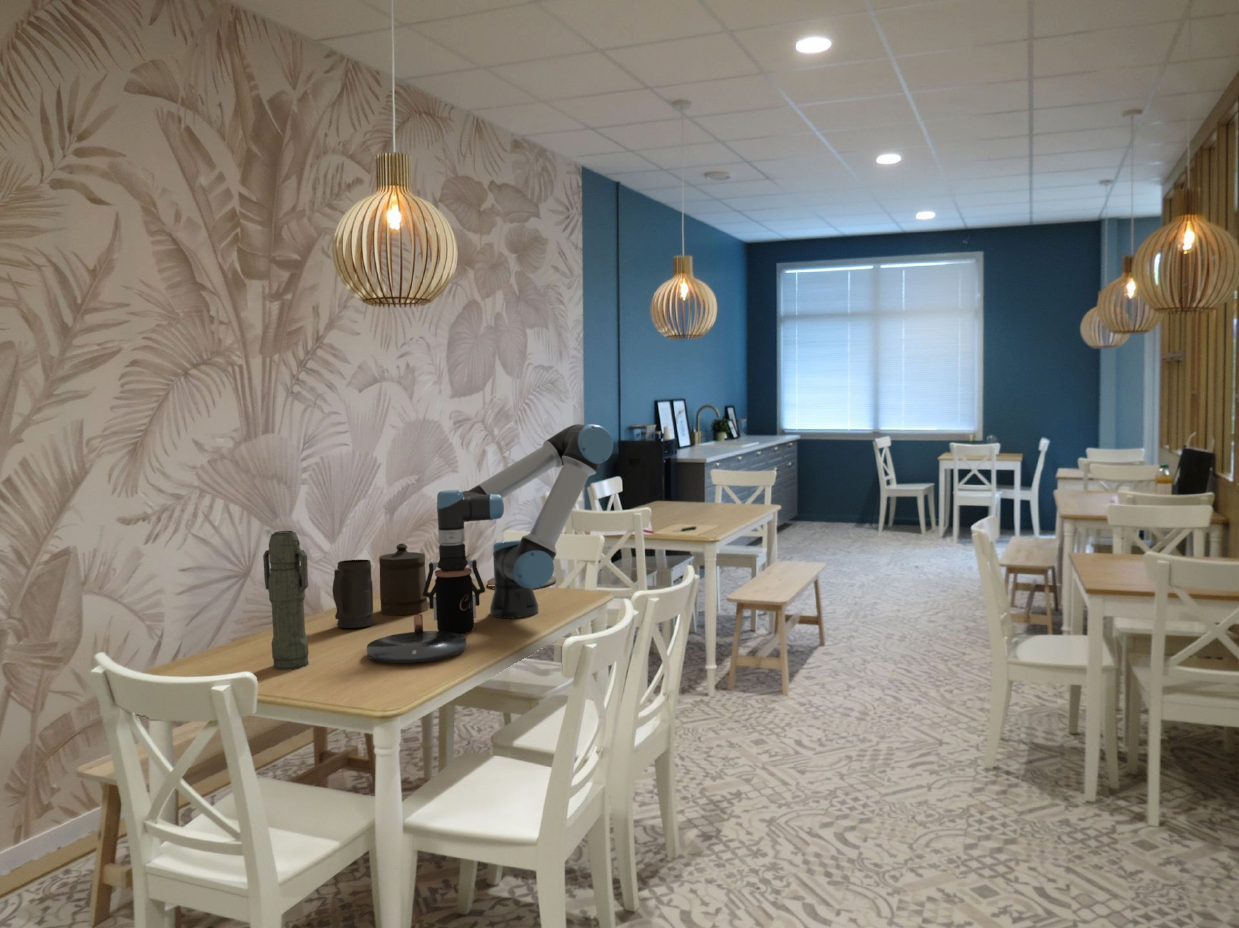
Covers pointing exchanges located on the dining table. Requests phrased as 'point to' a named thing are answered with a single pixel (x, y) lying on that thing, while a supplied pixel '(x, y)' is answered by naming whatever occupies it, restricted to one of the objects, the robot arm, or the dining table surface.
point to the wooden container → (402, 582)
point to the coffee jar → (454, 601)
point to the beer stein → (353, 593)
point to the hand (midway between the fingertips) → (455, 618)
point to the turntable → (416, 645)
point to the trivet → (550, 583)
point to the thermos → (287, 599)
